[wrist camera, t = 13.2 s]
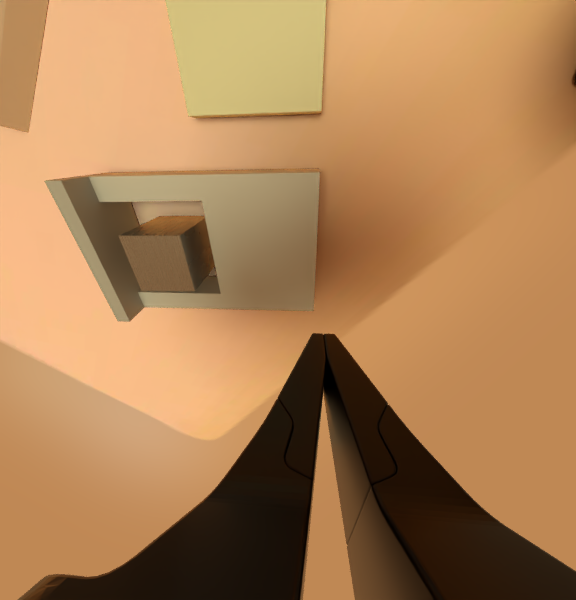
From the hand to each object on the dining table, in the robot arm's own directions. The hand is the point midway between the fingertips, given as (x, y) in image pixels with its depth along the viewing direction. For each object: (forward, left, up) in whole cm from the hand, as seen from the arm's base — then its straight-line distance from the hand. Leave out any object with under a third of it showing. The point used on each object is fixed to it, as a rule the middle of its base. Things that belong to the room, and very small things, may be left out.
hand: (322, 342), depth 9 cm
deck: (+7, 0, -12) cm, 14 cm away
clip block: (+8, 0, -10) cm, 13 cm away
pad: (+4, -12, -12) cm, 17 cm away
